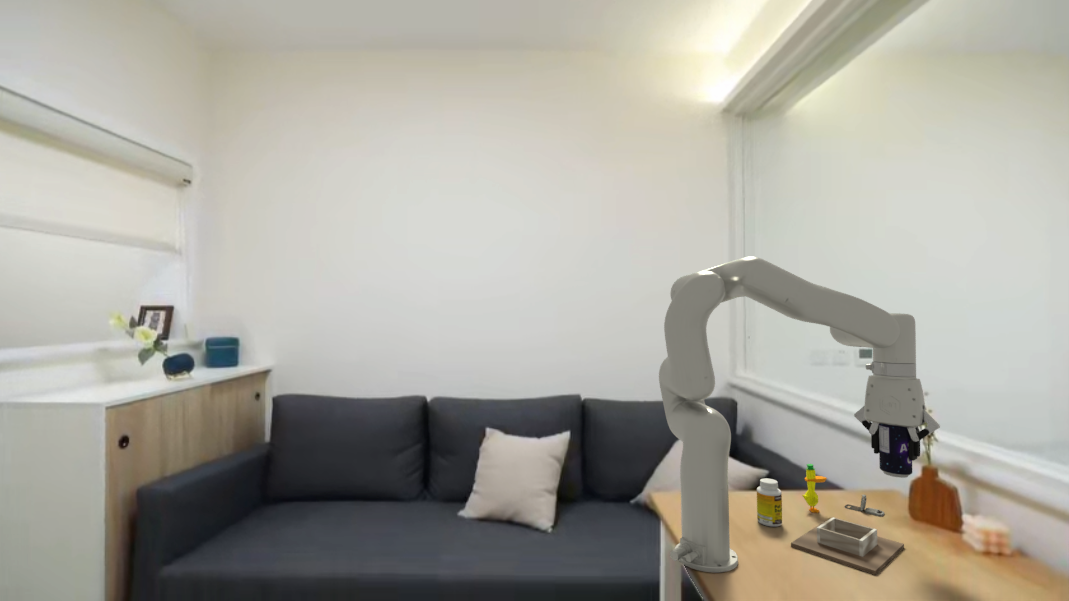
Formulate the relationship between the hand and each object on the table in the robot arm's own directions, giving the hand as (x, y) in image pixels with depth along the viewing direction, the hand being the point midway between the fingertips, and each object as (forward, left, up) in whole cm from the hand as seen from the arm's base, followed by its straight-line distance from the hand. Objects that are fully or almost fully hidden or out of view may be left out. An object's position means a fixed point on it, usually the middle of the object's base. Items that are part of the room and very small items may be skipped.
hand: (895, 455), depth 107 cm
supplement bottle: (-5, +25, -21) cm, 33 cm away
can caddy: (-5, +8, -21) cm, 23 cm away
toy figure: (+11, +21, -21) cm, 32 cm away
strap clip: (+21, +13, -21) cm, 33 cm away
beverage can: (0, 0, -4) cm, 4 cm away
